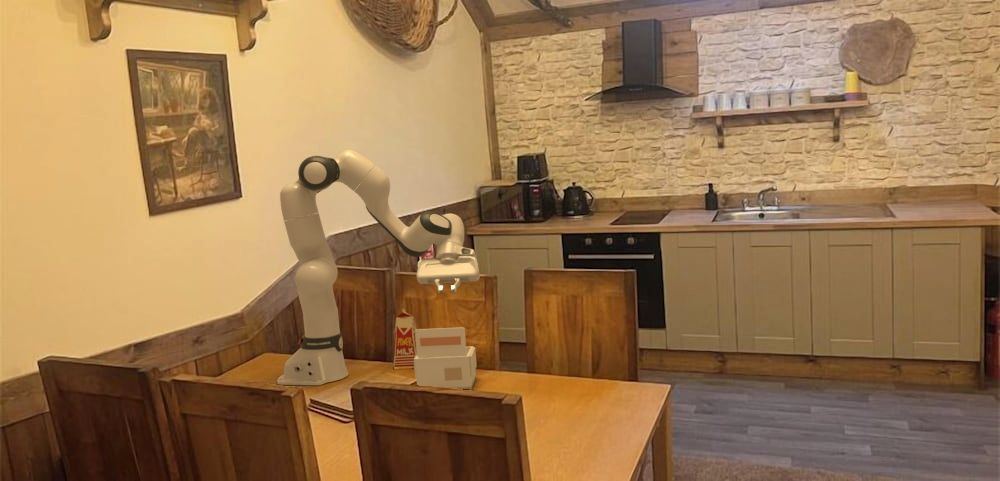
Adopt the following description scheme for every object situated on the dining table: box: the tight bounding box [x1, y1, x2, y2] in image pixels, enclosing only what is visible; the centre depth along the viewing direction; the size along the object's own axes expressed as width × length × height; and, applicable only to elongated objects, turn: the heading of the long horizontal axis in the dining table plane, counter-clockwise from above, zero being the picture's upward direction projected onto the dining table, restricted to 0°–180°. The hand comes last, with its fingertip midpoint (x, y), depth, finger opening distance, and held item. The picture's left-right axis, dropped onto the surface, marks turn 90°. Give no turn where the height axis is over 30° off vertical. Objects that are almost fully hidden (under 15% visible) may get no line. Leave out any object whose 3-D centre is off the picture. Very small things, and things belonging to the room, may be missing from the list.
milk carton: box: [392, 308, 417, 368], centre depth 244 cm, size 9×9×20 cm
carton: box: [413, 345, 478, 391], centre depth 220 cm, size 17×13×10 cm
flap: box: [415, 326, 467, 357], centre depth 213 cm, size 15×8×1 cm
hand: (447, 291), depth 229 cm, fingers open, 3 cm apart
